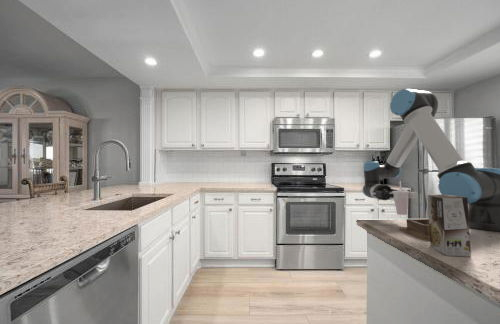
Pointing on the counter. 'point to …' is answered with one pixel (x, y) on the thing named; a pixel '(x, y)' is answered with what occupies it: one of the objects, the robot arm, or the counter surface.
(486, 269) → the counter surface
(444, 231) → the coffee box
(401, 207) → the smoothie
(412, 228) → the caddy
